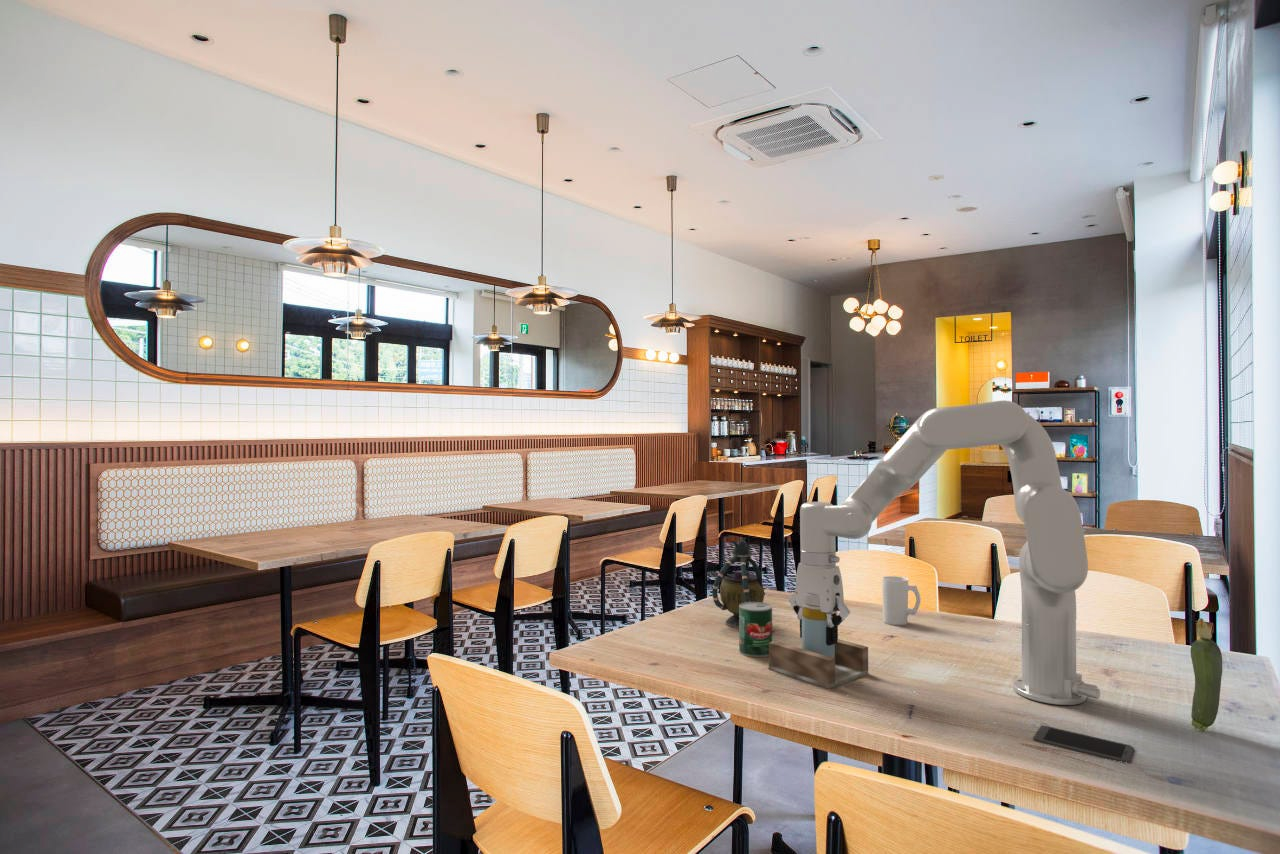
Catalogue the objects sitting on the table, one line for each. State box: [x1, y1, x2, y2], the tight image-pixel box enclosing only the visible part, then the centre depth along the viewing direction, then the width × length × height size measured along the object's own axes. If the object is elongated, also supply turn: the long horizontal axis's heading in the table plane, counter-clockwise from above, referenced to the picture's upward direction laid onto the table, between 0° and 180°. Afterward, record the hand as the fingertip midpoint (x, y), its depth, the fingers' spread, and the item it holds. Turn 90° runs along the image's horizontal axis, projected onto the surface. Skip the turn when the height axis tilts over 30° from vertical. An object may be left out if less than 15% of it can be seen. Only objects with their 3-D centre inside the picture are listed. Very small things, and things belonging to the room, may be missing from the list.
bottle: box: [801, 593, 835, 658], centre depth 158 cm, size 7×7×15 cm
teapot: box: [711, 538, 766, 629], centre depth 200 cm, size 12×25×23 cm, turn 151°
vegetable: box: [1190, 618, 1223, 732], centre depth 126 cm, size 4×4×20 cm
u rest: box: [768, 638, 869, 689], centre depth 158 cm, size 16×14×6 cm
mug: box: [881, 575, 921, 626], centre depth 196 cm, size 10×7×12 cm, turn 52°
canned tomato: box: [738, 602, 773, 658], centre depth 172 cm, size 8×8×11 cm
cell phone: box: [1032, 725, 1135, 764], centre depth 121 cm, size 7×14×1 cm, turn 50°
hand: (818, 639), depth 158 cm, fingers closed on bottle, 6 cm apart
